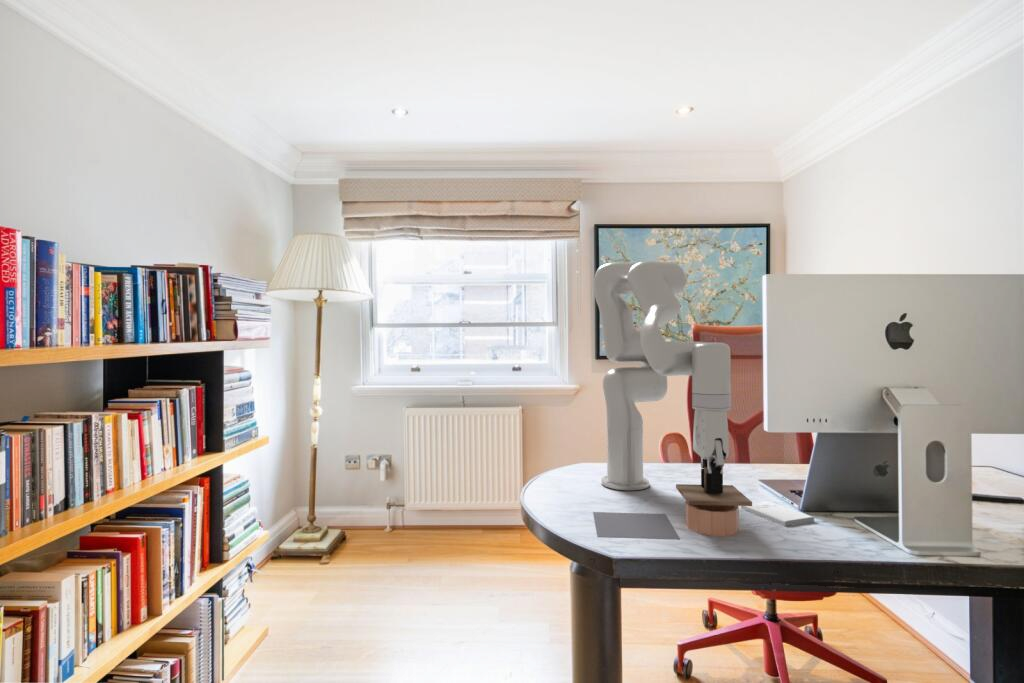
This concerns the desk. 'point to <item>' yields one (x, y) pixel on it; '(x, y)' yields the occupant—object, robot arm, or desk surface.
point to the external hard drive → (778, 513)
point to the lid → (712, 495)
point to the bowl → (713, 519)
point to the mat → (634, 525)
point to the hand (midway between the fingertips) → (711, 489)
